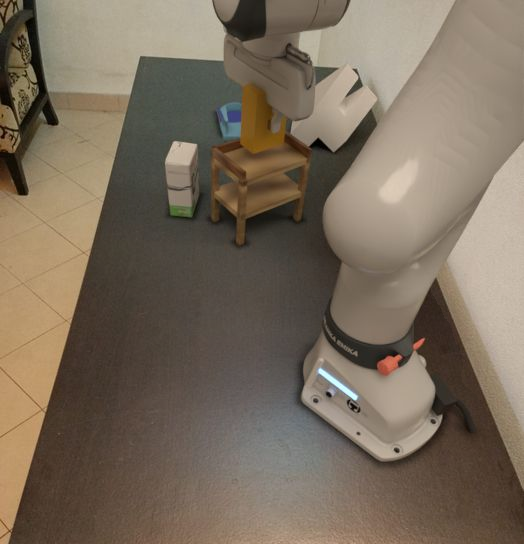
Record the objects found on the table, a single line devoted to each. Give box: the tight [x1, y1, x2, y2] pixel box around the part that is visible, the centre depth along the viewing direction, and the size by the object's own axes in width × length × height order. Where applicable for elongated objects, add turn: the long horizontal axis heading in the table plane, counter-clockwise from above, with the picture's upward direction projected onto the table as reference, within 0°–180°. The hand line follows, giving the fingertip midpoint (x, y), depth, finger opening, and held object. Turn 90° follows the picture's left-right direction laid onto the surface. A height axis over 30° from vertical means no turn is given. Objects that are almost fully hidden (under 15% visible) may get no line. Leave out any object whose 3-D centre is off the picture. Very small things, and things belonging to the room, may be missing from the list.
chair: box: [219, 101, 242, 143], centre depth 107 cm, size 8×8×12 cm
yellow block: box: [240, 83, 288, 154], centre depth 81 cm, size 4×7×10 cm, turn 127°
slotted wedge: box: [289, 62, 378, 153], centre depth 116 cm, size 14×11×18 cm
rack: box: [209, 130, 313, 246], centre depth 92 cm, size 10×16×16 cm, turn 127°
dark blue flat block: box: [216, 106, 241, 124], centre depth 122 cm, size 2×8×12 cm
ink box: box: [164, 140, 200, 218], centre depth 94 cm, size 9×5×12 cm, turn 175°
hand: (263, 124), depth 82 cm, fingers closed on yellow block, 4 cm apart
